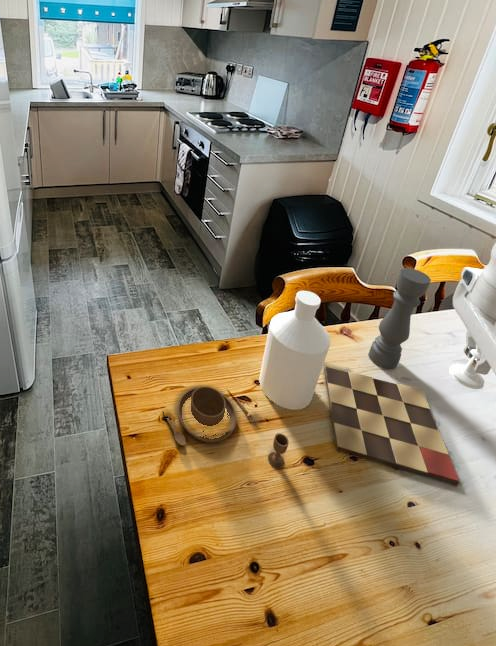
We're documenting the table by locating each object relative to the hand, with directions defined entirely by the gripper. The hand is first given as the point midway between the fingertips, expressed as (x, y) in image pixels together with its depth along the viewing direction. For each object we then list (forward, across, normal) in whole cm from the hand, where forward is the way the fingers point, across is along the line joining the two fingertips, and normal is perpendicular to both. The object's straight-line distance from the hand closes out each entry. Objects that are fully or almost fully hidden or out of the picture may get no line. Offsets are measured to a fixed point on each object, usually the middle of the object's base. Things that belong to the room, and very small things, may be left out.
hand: (474, 362), depth 69 cm
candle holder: (+22, +20, +4) cm, 30 cm away
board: (+22, +2, +8) cm, 23 cm away
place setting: (+22, -12, +40) cm, 48 cm away
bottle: (+22, +4, +28) cm, 35 cm away
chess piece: (+4, 0, 0) cm, 4 cm away
